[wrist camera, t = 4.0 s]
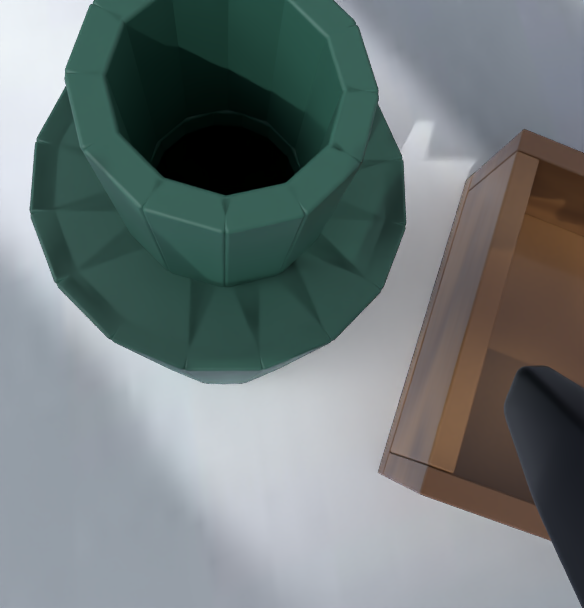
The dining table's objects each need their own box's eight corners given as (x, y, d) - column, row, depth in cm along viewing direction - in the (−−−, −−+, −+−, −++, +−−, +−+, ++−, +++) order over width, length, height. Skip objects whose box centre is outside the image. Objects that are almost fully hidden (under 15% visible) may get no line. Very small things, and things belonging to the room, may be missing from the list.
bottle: (223, 423, 18) (221, 487, 5) (95, 292, 18) (-204, 53, 6) (349, 296, 19) (587, 105, 7) (227, 175, 20) (232, -235, 7)
